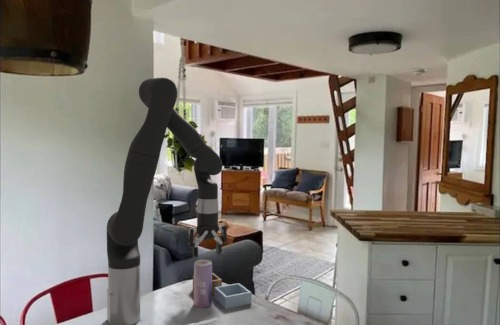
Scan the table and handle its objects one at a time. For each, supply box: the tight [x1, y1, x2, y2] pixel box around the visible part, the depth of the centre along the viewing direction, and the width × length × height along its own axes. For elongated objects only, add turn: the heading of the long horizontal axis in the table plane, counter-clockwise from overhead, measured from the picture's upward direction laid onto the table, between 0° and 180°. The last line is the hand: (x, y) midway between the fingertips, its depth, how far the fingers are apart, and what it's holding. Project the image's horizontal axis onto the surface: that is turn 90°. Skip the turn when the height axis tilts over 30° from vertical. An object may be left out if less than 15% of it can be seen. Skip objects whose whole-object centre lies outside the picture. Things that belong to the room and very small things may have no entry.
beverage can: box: [193, 259, 213, 309], centre depth 125 cm, size 6×6×15 cm
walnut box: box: [192, 272, 223, 297], centre depth 136 cm, size 8×8×6 cm
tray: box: [213, 282, 253, 310], centre depth 128 cm, size 10×10×5 cm
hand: (207, 255), depth 135 cm, fingers open, 8 cm apart
